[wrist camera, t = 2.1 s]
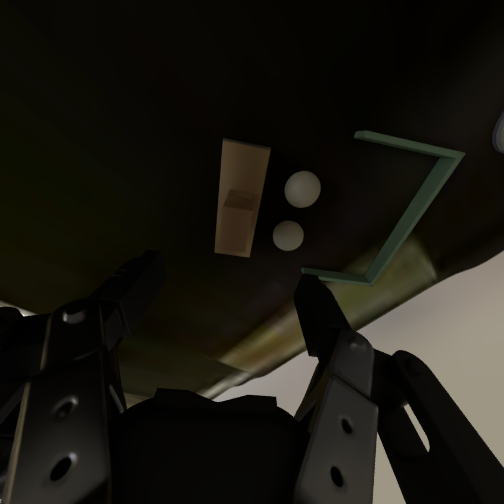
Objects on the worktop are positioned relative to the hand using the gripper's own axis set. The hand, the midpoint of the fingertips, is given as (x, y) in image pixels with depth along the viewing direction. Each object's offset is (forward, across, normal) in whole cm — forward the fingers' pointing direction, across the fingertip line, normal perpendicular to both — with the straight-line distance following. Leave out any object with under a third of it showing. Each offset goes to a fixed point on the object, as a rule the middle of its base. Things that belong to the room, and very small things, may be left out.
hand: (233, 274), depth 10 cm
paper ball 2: (+13, -7, +3) cm, 15 cm away
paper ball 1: (+13, -6, -3) cm, 15 cm away
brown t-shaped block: (+15, 0, 0) cm, 15 cm away
